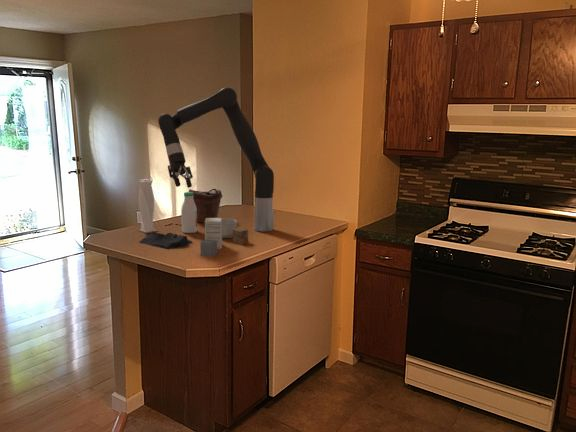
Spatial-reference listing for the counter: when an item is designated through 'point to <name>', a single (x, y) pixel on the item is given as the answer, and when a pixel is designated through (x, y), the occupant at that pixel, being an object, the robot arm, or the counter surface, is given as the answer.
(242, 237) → the walnut block
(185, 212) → the milk bottle
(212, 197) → the wooden bucket
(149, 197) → the skyscraper
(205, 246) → the slate-grey block
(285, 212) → the counter surface
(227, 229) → the teacup
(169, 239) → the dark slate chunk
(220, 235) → the supplement box
